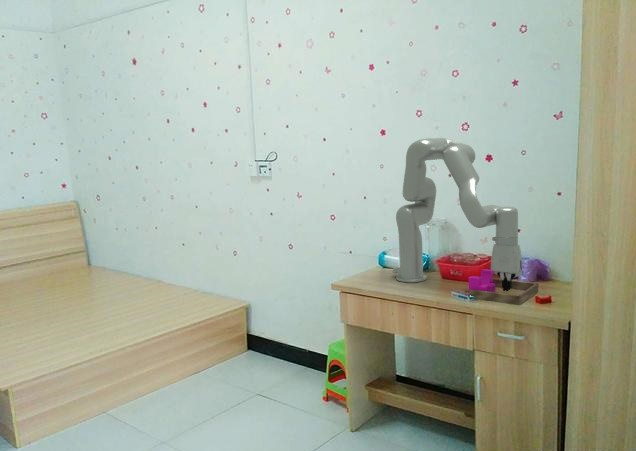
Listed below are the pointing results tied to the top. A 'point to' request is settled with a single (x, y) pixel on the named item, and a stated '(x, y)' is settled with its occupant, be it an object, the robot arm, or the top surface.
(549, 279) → the top surface
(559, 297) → the top surface
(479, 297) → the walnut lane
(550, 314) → the top surface
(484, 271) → the toy block
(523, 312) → the top surface
